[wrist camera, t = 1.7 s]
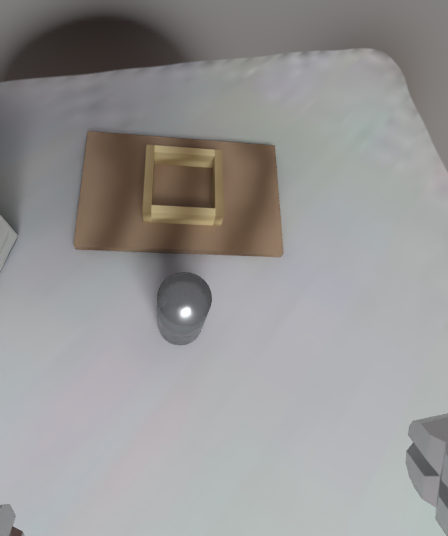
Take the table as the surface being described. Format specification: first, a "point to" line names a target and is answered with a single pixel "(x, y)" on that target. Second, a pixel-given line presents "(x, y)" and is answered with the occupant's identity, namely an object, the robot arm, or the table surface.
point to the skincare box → (5, 240)
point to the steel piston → (182, 307)
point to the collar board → (178, 196)
